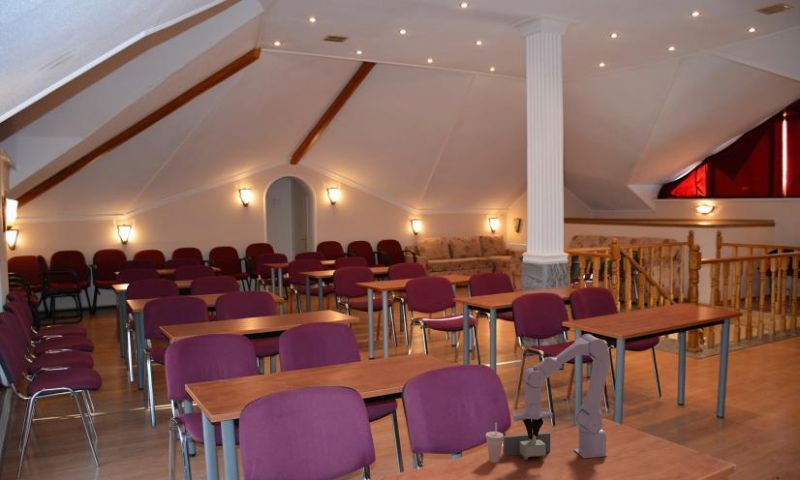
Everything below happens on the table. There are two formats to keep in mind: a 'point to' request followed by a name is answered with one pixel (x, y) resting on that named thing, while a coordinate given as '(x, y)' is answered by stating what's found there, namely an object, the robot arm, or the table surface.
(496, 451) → the smoothie
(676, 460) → the table surface
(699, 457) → the table surface
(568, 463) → the table surface
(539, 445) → the grey block
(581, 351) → the robot arm
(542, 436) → the wall board
